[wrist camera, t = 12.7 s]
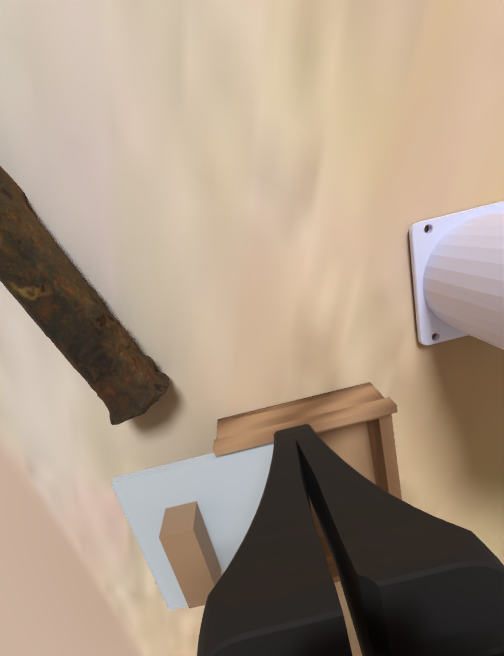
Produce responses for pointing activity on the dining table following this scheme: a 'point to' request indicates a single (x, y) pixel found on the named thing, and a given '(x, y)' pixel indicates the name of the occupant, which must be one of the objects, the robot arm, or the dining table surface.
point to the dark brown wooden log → (72, 311)
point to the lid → (193, 517)
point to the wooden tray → (327, 435)
